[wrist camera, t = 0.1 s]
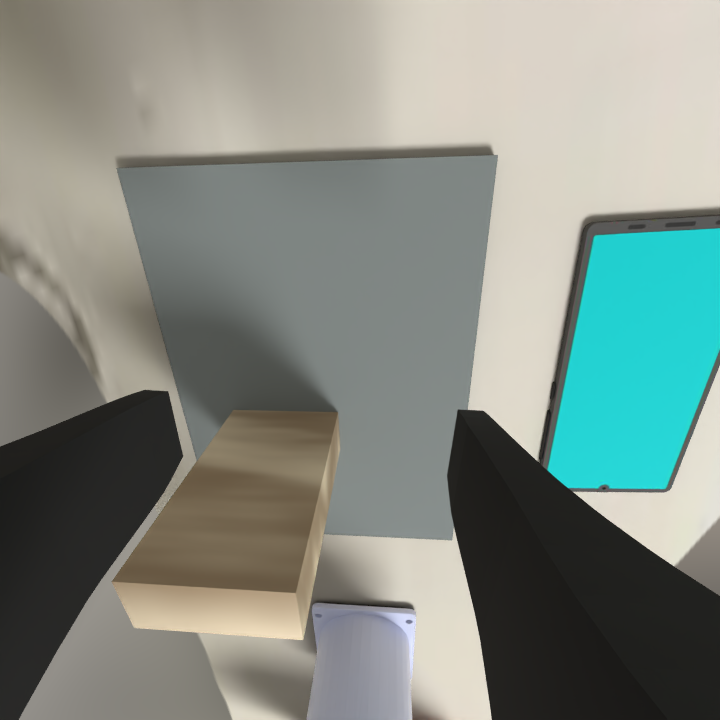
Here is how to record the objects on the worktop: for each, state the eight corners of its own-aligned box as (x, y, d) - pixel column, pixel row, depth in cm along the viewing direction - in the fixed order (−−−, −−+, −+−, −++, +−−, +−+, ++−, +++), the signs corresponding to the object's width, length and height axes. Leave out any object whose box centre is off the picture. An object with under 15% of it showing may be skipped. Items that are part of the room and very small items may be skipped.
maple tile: (340, 448, 21) (303, 639, 12) (240, 445, 22) (134, 627, 13) (338, 412, 20) (295, 593, 11) (233, 410, 21) (111, 581, 12)
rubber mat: (450, 533, 24) (452, 540, 24) (218, 522, 26) (215, 528, 25) (494, 156, 15) (497, 154, 14) (124, 168, 16) (116, 168, 16)
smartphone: (780, 212, 15) (669, 492, 21) (760, 211, 15) (659, 482, 22) (587, 223, 15) (536, 491, 22) (577, 222, 16) (531, 481, 22)
